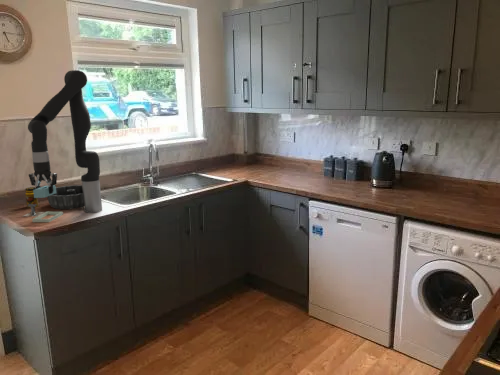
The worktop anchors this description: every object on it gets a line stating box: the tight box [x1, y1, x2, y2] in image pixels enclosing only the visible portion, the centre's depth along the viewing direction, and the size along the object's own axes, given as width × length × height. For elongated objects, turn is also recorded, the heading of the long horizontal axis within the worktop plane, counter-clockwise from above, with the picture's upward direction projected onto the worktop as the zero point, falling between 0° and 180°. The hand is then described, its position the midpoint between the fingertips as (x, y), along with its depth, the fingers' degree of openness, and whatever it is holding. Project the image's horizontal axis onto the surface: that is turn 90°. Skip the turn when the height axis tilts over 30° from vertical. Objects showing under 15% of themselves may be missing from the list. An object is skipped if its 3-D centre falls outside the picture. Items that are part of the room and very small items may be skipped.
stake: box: [22, 204, 45, 217], centre depth 222 cm, size 8×8×6 cm
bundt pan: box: [46, 184, 84, 211], centre depth 240 cm, size 26×26×10 cm
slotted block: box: [33, 185, 57, 199], centre depth 211 cm, size 11×6×4 cm, turn 176°
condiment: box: [24, 186, 40, 209], centre depth 238 cm, size 7×8×12 cm
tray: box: [31, 211, 64, 223], centre depth 214 cm, size 14×9×2 cm, turn 176°
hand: (45, 193), depth 211 cm, fingers closed on slotted block, 5 cm apart
